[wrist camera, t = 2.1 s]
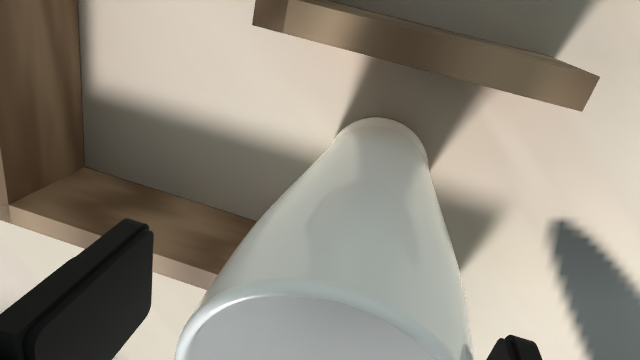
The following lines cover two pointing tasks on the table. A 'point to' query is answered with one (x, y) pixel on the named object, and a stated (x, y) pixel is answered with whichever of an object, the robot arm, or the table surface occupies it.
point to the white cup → (342, 265)
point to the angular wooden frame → (168, 210)
